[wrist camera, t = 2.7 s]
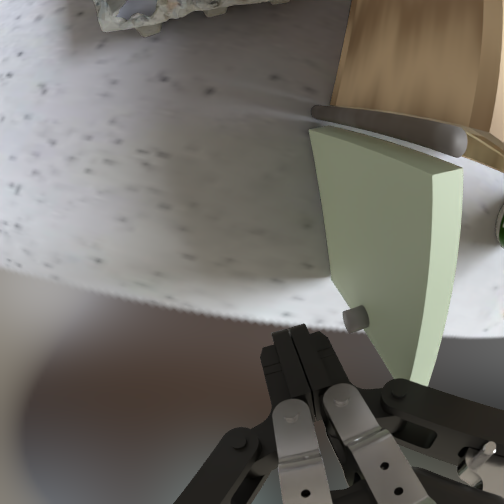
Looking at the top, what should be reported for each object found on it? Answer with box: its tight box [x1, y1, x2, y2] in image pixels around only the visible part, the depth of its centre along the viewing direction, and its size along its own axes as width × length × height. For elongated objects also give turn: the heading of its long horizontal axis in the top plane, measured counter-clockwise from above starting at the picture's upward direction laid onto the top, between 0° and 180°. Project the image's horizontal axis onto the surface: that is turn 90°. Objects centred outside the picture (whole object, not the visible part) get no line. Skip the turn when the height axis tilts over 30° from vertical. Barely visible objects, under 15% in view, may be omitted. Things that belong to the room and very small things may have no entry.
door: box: [308, 125, 463, 387], centre depth 13 cm, size 2×10×10 cm, turn 13°
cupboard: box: [311, 0, 504, 173], centre depth 9 cm, size 11×11×11 cm
